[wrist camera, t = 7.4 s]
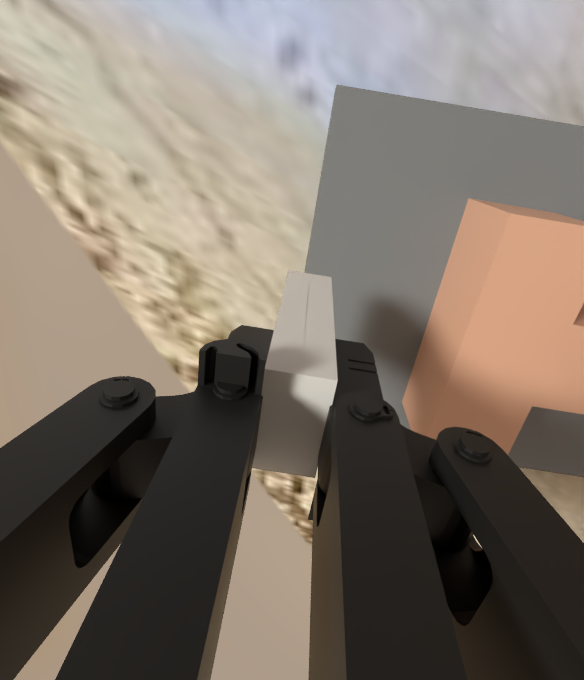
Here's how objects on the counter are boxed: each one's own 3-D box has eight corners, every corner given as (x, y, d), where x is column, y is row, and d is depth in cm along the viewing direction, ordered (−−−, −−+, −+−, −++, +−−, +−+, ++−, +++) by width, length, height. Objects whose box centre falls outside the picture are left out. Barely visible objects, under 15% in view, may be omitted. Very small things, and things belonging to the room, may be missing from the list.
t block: (468, 198, 16) (511, 213, 13) (709, 238, 17) (818, 265, 13) (401, 402, 21) (419, 456, 17) (593, 432, 21) (650, 492, 17)
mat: (335, 88, 16) (336, 84, 15) (754, 159, 16) (785, 160, 15) (280, 415, 23) (278, 429, 22) (574, 462, 23) (587, 477, 22)
